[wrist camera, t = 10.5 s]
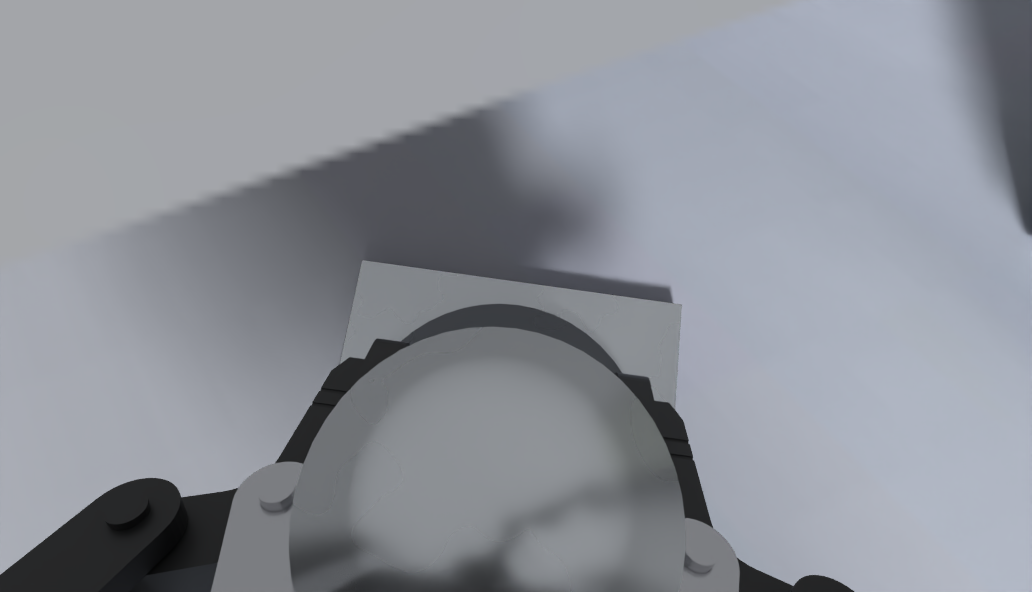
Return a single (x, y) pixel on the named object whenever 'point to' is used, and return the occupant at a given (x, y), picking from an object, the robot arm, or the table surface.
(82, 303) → the table surface
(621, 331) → the flange
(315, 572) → the grey cylinder
